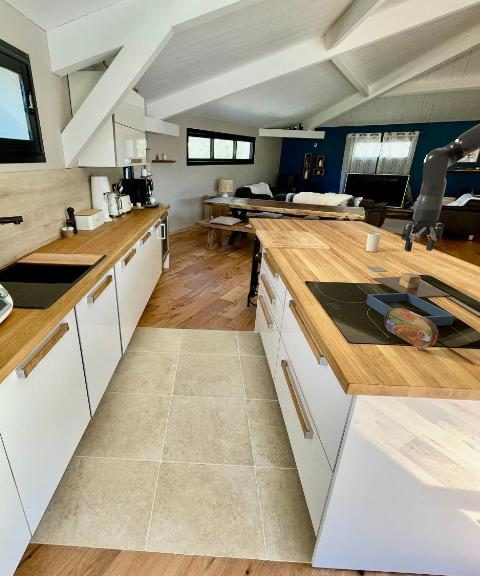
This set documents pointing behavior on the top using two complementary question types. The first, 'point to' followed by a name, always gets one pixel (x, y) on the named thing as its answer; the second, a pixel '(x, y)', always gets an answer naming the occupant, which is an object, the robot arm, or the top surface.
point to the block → (410, 280)
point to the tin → (411, 327)
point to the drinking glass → (373, 242)
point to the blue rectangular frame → (438, 314)
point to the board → (419, 292)
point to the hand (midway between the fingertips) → (418, 250)
